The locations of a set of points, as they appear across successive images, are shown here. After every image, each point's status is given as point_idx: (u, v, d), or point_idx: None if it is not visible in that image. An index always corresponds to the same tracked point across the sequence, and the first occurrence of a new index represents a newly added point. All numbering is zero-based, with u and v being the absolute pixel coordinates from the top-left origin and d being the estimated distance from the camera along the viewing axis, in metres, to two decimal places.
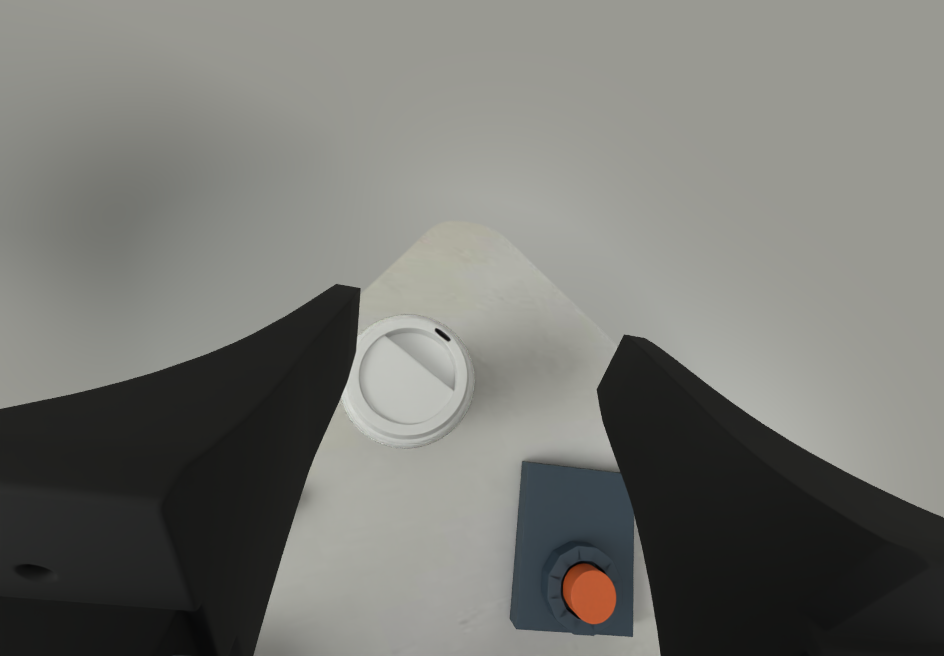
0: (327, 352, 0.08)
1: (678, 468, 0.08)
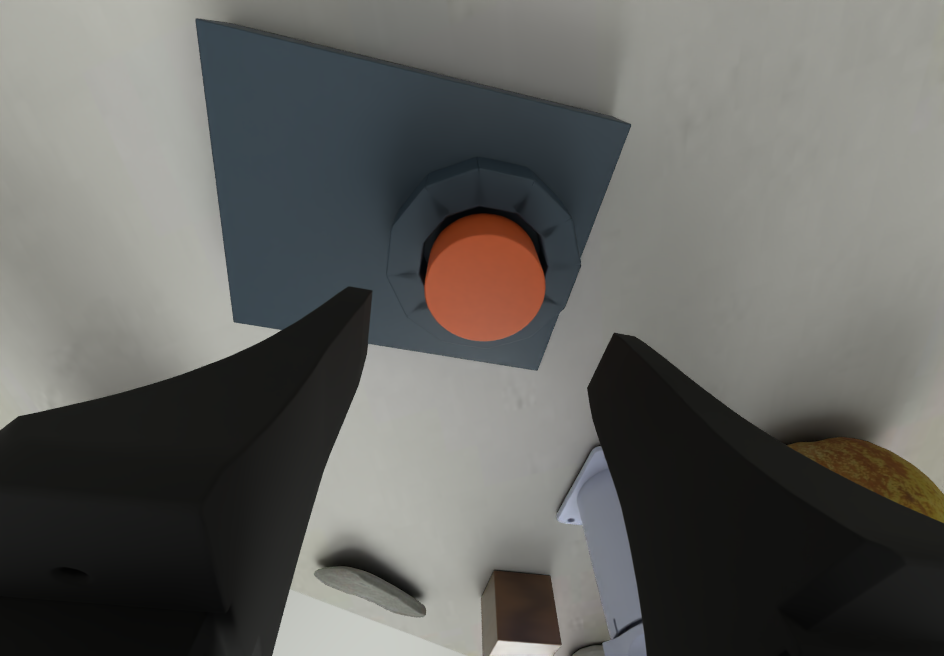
0: (342, 354, 0.08)
1: (665, 466, 0.08)
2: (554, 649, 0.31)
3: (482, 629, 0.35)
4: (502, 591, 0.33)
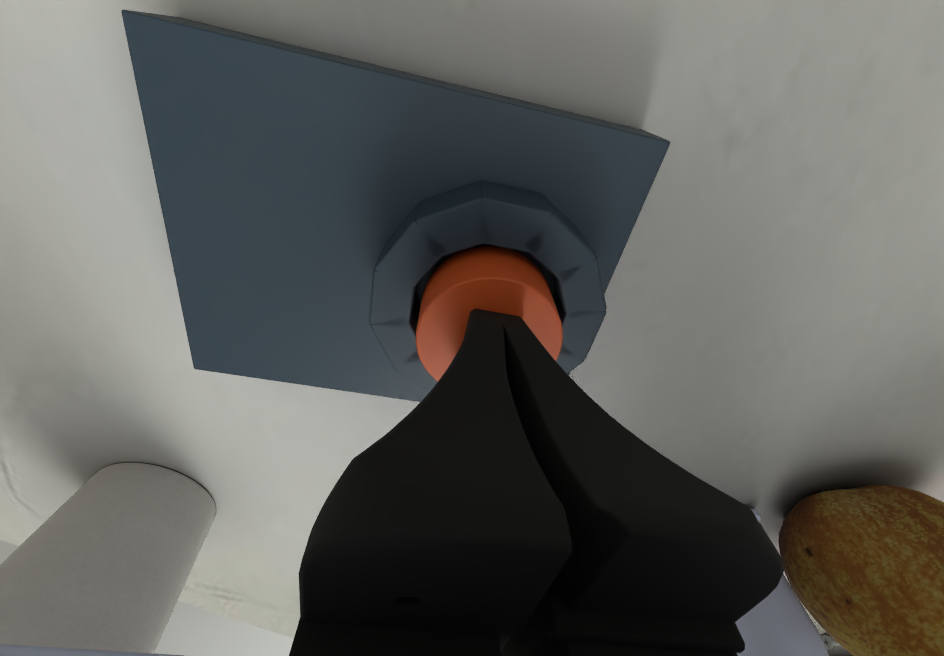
0: None
1: None
2: None
3: None
4: None
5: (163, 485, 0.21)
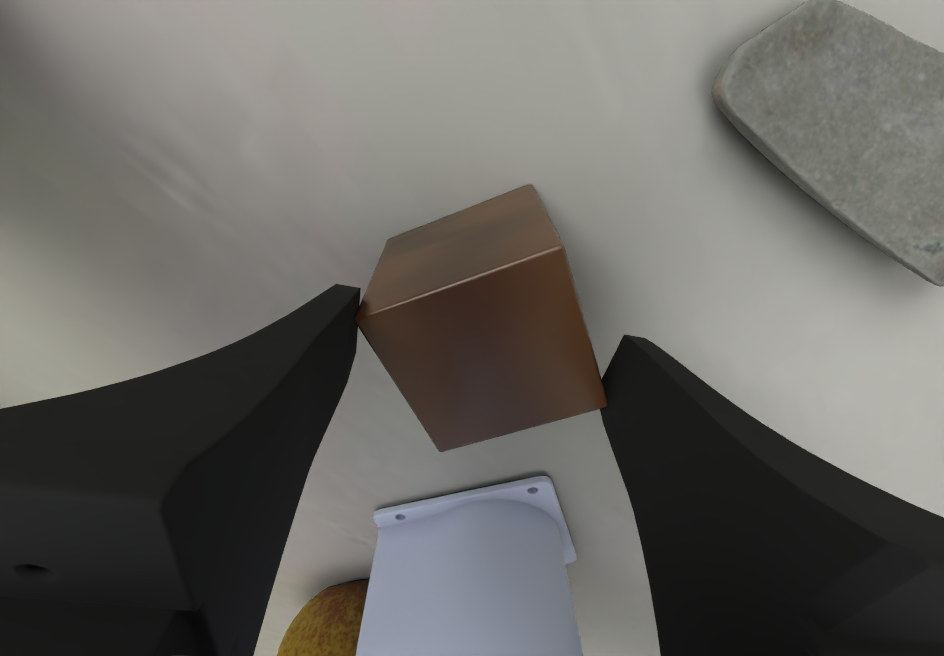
0: (327, 352, 0.08)
1: (678, 468, 0.08)
2: (438, 432, 0.12)
3: None
4: None
5: None
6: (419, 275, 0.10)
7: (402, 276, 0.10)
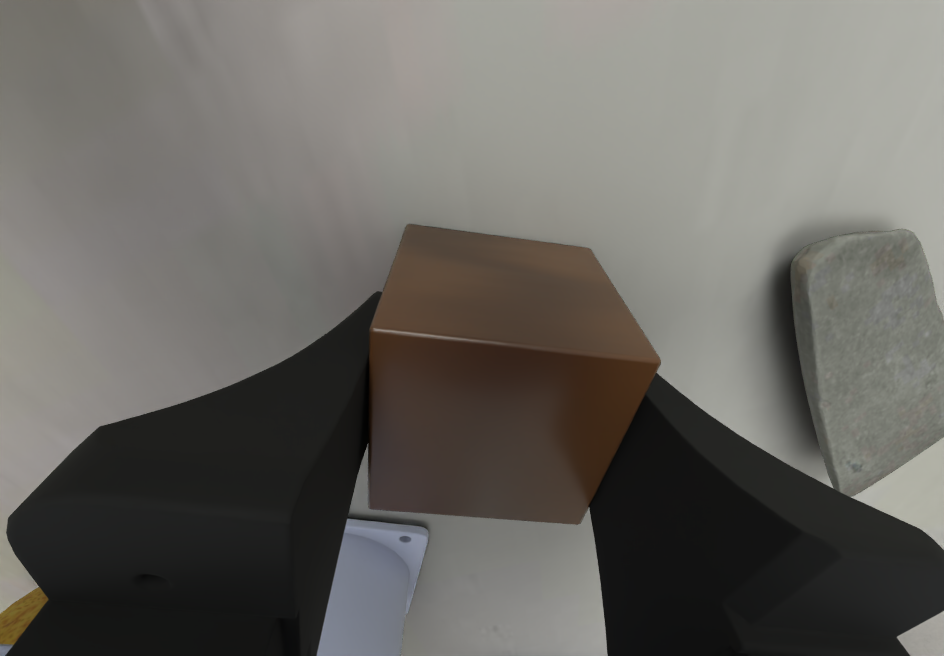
0: None
1: (628, 461, 0.08)
2: (382, 489, 0.09)
3: None
4: None
5: None
6: (467, 306, 0.08)
7: (441, 294, 0.08)
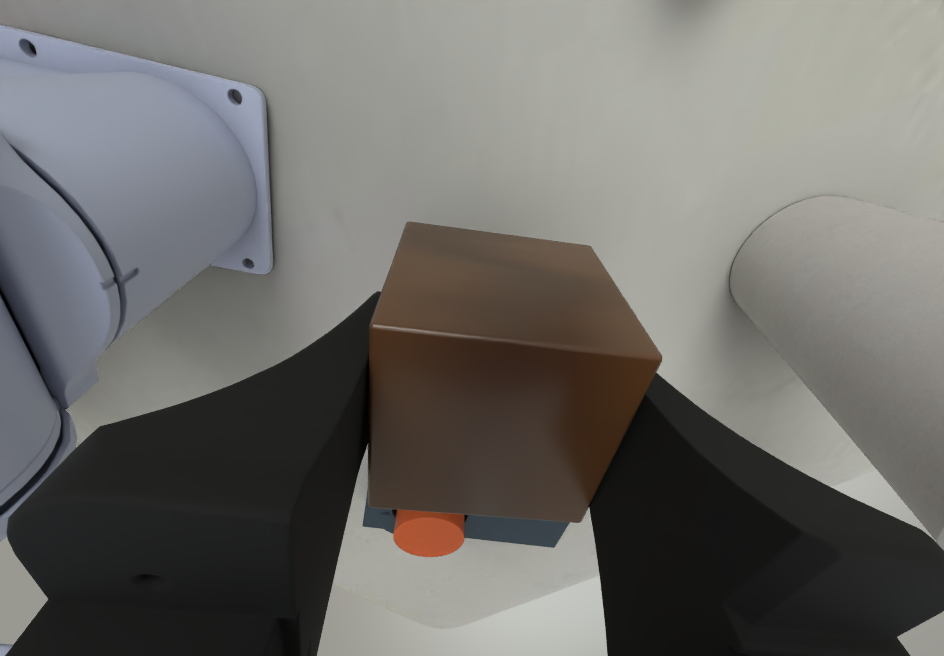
0: None
1: (628, 461, 0.08)
2: (382, 487, 0.09)
3: None
4: None
5: None
6: (467, 303, 0.08)
7: (441, 291, 0.08)
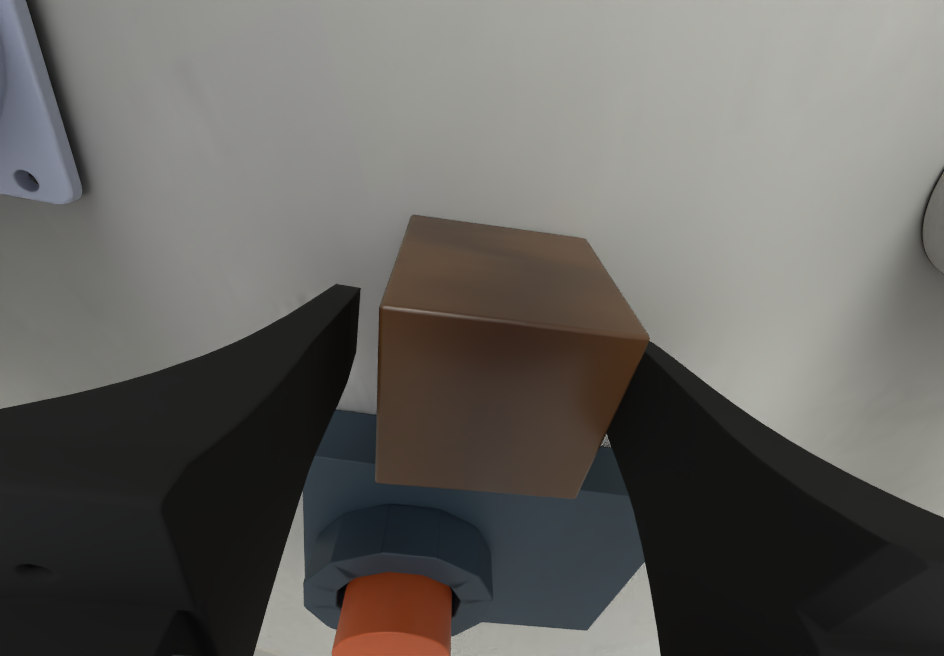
0: (327, 352, 0.08)
1: (678, 468, 0.08)
2: (389, 463, 0.09)
3: None
4: None
5: None
6: (469, 288, 0.08)
7: (444, 277, 0.08)
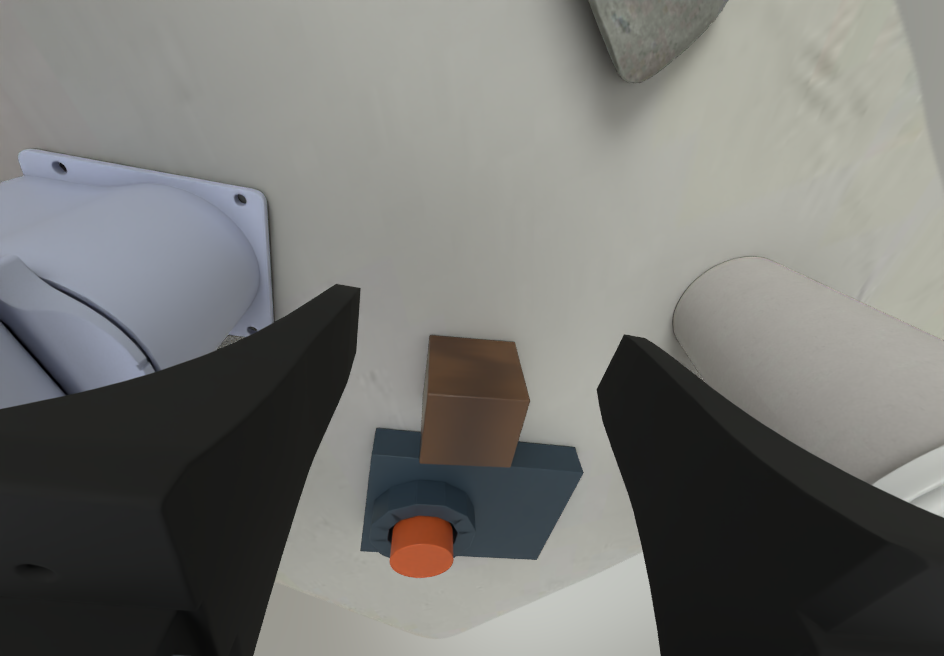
0: (327, 352, 0.08)
1: (678, 468, 0.08)
2: (426, 454, 0.22)
3: None
4: None
5: None
6: (460, 381, 0.20)
7: (449, 376, 0.21)
